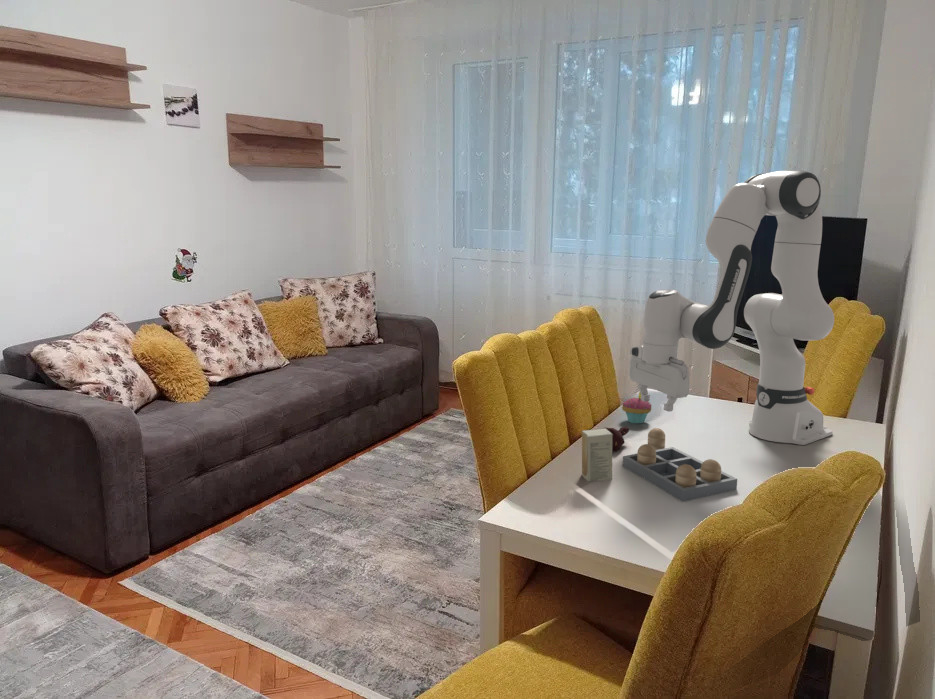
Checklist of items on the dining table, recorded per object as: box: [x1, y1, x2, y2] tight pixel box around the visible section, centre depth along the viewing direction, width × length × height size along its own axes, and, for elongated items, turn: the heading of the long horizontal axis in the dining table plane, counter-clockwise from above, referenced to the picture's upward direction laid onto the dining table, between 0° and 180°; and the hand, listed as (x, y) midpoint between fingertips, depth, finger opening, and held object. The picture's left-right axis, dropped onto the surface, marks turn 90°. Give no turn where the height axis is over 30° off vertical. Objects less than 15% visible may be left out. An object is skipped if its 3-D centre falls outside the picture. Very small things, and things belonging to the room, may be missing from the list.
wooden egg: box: [647, 427, 666, 450], centre depth 176 cm, size 4×4×6 cm
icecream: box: [602, 426, 630, 453], centre depth 176 cm, size 7×7×15 cm
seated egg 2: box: [675, 464, 696, 488], centre depth 149 cm, size 4×4×6 cm
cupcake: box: [621, 390, 652, 424], centre depth 199 cm, size 9×8×12 cm
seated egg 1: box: [636, 443, 656, 465], centre depth 162 cm, size 4×4×6 cm
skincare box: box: [581, 427, 613, 482], centre depth 157 cm, size 6×4×12 cm
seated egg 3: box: [700, 458, 722, 483], centre depth 152 cm, size 4×4×6 cm
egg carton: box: [622, 446, 738, 502], centre depth 157 cm, size 15×22×4 cm
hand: (656, 405), depth 174 cm, fingers open, 8 cm apart
